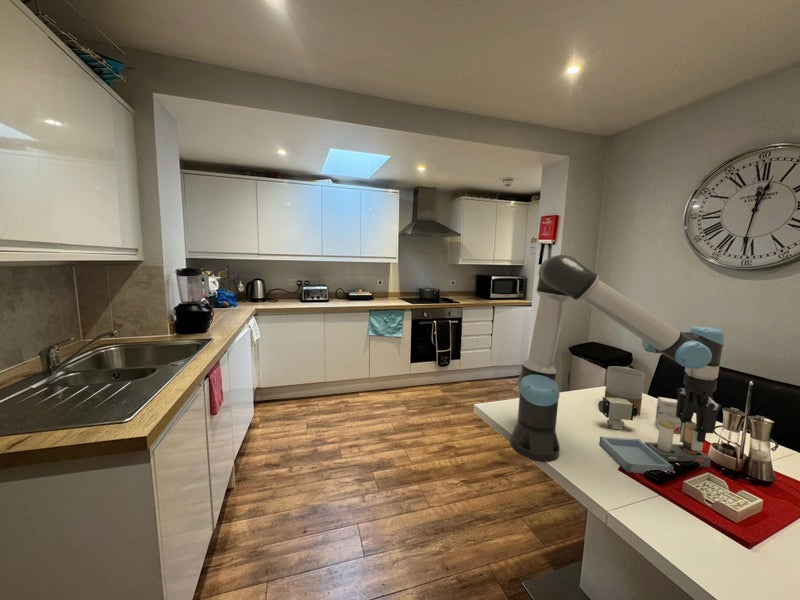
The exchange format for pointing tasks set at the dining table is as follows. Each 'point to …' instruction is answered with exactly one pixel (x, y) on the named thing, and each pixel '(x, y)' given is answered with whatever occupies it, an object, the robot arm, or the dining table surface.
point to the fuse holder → (681, 455)
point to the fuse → (665, 436)
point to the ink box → (667, 413)
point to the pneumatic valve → (617, 411)
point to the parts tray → (634, 455)
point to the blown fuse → (689, 438)
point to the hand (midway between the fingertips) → (690, 445)
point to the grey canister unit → (625, 385)
